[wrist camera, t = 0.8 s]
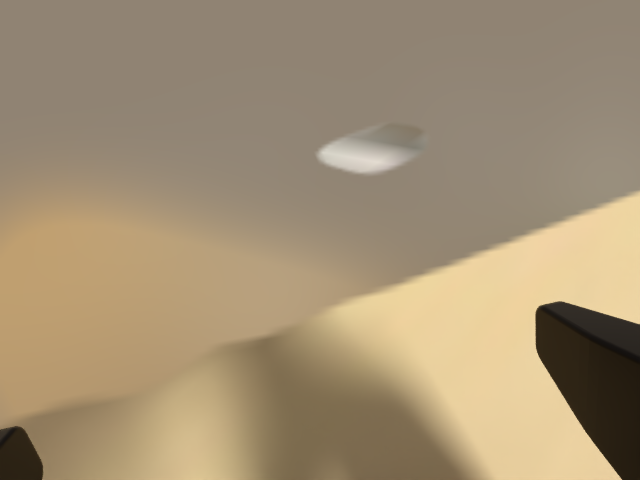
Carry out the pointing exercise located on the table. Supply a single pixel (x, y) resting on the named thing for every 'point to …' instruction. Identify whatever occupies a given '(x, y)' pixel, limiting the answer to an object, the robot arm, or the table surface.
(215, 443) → the table surface
